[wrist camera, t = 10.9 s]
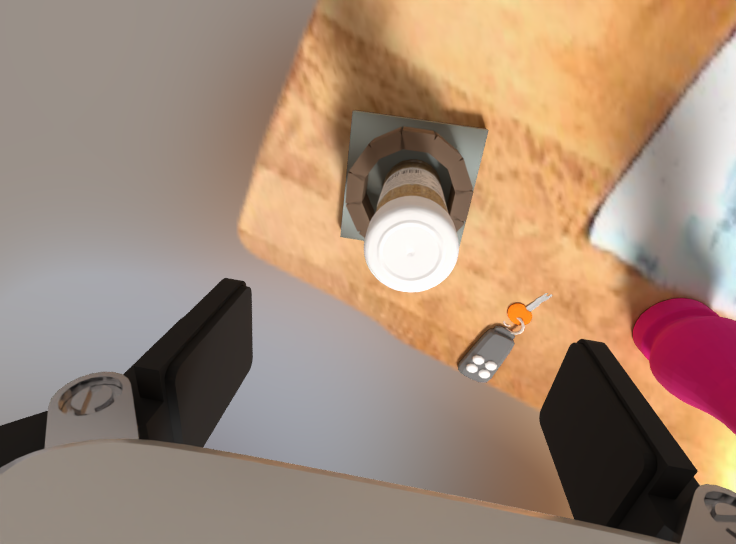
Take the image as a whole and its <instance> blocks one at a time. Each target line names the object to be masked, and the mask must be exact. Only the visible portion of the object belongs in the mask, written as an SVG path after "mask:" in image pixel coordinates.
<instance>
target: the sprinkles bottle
mask: <svg viewBox="0 0 736 544" xmlns="http://www.w3.org/2000/svg"><path fill="white" fill-rule="evenodd" d="M458 252H459V242H458V237H457V233H456V229H455V226H454V223H453V221H452V219H451V217H450V215H449V214H448V210H447V206H446V203H445V199H444V195H443V191H442V188H441V181H440V177H439V175H438V173H437V171H436V170H435V169H434V168H433V167H432V166H431V165H429V164H428V163H426V162H424V161H422V160H417V159H414V160H412V159H410V160H405V161H402V162H400V163H398V164H396V165H395V166H394V167H392V169H391V170H390V171H389V172H388V173H387V175H386V178H385V180H384V184H383V189H382V192H381V194H380V197H379V201H378V203H377V210H376V213H375V214H374V216H373V217H372V219H371V221H370V223H369V226H368V229H367V232H366V236H365V241H364V255H365V260H366V262H367V265H368V267H369V269H370V271H371V272H372V274H373V275H374V276H375V277H376V278H377V279H378V280H379V281H380V282H382V283H383V284H384V285H386V286H388V287H390V288H392V289H395V290H398V291H403V292H419V291H424V290H427V289H430V288H432V287H434V286H436V285H438V284H439V283H441V282H442V281H443V280H444V279H446V277H447V276H448V275H449V274H450V273H451V271H452V270H453V268H454V266H455V264H456V261H457V258H458Z"/></svg>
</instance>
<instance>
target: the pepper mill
mask: <svg viewBox="0 0 736 544" xmlns="http://www.w3.org/2000/svg"><path fill="white" fill-rule="evenodd" d="M633 340H634V343H635V345H636V346H637V347H638V349H639V350H640V351H641V352H642V353H643V354H644V356H645V357H646V358H647V359H648V360H649V363H650V368H651V371H652V373H653V375H654V376H655V378H656V379H657V381H658V382H659V383H660V384H661V385H662V386H663V387H664V388H665V389H666V390H667V391H669V392H670V393H671V394H672V395H674V396H675V397H677V398H679V399H680V400H682V401H683V402H685V403H687V404H689V405H691V406H693V407H696V408H698V409H700V410H702V411H704V412H706V413H708V414H710V415H712V416H713V417H715V418H716V419H718V420H719V421H721V422H722V423H724V424H725V425H726V426H727V427H728V428H729V429H730V430H731V431H732V432H733V433H735V434H736V321H734V320H732V319H728V318H723V317H720V316H719V315H718V314H716V313H715V312H714V311H712V310H711V309H710V308H708V307H707V306H706V305H704V304H703V303H701V302H699V301H696V300H693V299H687V298H675V299H669V300H666V301H662V302H659V303H657V304H655V305H654V306H652V307H650V308H649V309H647V310H646V311H645V312H644V313H643V314H641V316H640V317H639V319H638V320H637V321H636V324H635V326H634V329H633Z"/></svg>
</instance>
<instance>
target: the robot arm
mask: <svg viewBox="0 0 736 544" xmlns="http://www.w3.org/2000/svg"><path fill="white" fill-rule="evenodd" d="M251 296H252V294H251V288H250V287H247V286H246V283H245V282H244V281H240V280H234V279H228V278H224V279H223V280H221V281H220V282H219V283H218V284H217V285H216V286H215V287H214V288H213V289H212V290H211V291H210V292H209V293H208V294H207V295H206V296H205V297H204V298H203V299H202V300H201V301H200V302H199V303H198V304H197V305H196V306H195V307H194V308H193V309H192V310H191V311H190V312H189V313H188V314H187V315H186V316H184V317H183V318H182V319H180V320H179V321H178V322H177V323H176V324H175V325H174V326H173V327H172V328H171V329H170V330H169V331H168V332H167V333H166V334H165V335H164V336H163V337H162V338H160V340H158V341H157V342H156V343H155V344H154V345H153V346H152V347H151V348H150V349H149V350H148V351H147V352H146V353H145V354H144V355H143V356H142V357H141V358H140V359H139V360H138V361H137V362H136V363H135V364H134V365H133V366H132V367H131V368H129V369H128V370H127V371H126V372H125V373H124V374H119V373H116V372H98V373H92V374H89V375H86V376H82V377H79V378H77V379H75V380H73V381H71V382H70V383H67V384H66V385H65V386H64V387H62V388H61V389H59V390H58V391H57V392H56V393H55V395H54V396H53V397H52V398H51V401H50V403H49V406H48V411H45V412H42V413H39V414H36V415H33V416H30V417H26V418H23V419H20V420H17V421H14V422H11V423H8V424H5V425H2V426H0V544H736V493H735V492H733V491H731V490H729V489H726V488H723V487H720V486H717V485H709V484H705V485H701V486H700V485H699V484H698V482H697V481H696V480H695V478H694V475H695V474H696V473H697V472H698V471H697V469H696V468H695V467H694V465H693V464H692V463H691V461H690V460H689V458H688V457H687V456H686V454H685V453H684V451H683V450H682V449H681V447H680V446H679V445H678V443H677V442H676V440H675V439H674V438H673V436H672V435H671V434H670V432H669V431H668V429H667V428H666V427H665V425H664V424H663V423H662V421H661V420H660V418H659V417H658V416H657V414H656V413H655V412H654V410H653V409H652V407H651V406H650V405H649V403H648V402H647V401H646V399H645V398H644V396H643V395H642V394H641V392H640V391H639V389H638V388H637V387H636V385H635V384H634V383H633V381H632V380H631V378H630V377H629V376H628V374H627V373H626V372H625V370H624V369H623V367H622V366H621V365H620V363H619V362H618V361H617V359H616V358H615V356H614V355H613V354H612V352H611V351H610V350H609V348H608V347H607V345H606V344H605V343H602V342H597V341H591V340H585V339H580V340H579V341H578V342H577V343H572V344H571V345H570V347H569V349H568V351H567V353H566V356H565V358H564V360H563V362H562V364H561V367H560V369H559V371H558V373H557V375H556V378H555V380H554V382H553V384H552V387H551V389H550V391H549V393H548V395H547V398H546V400H545V402H544V404H543V406H542V409H541V411H540V418H539V419H540V425H541V428H542V430H543V433H544V436H545V439H546V442H547V444H548V447H549V450H550V453H551V456H552V458H553V461H554V464H555V467H556V469H557V472H558V475H559V478H560V480H561V483H562V486H563V489H564V492H565V495H566V497H567V500H568V503H569V506H570V509H571V511H572V514H573V517H574V519H569V518H563V517H559V516H554V515H549V514H544V513H539V512H534V511H529V510H525V509H520V508H515V507H510V506H505V505H500V504H495V503H490V502H485V501H480V500H475V499H470V498H465V497H460V496H455V495H450V494H445V493H440V492H434V491H430V490H425V489H419V488H415V487H410V486H404V485H399V484H394V483H389V482H384V481H378V480H374V479H369V478H363V477H358V476H353V475H348V474H343V473H338V472H333V471H327V470H322V469H317V468H311V467H306V466H301V465H295V464H290V463H285V462H280V461H275V460H269V459H264V458H259V457H254V456H248V455H243V454H237V453H231V452H225V451H220V450H214V449H208V448H203V447H204V445H205V443H206V441H207V440H208V438H209V436H210V435H211V433H212V432H213V430H214V428H215V427H216V425H217V423H218V422H219V420H220V418H221V417H222V415H223V413H224V412H225V410H226V408H227V407H228V405H229V403H230V402H231V400H232V398H233V397H234V395H235V393H236V392H237V390H238V389H239V387H240V385H241V384H242V382H243V380H244V378H245V377H246V375H247V373H248V372H249V370H250V368H251V364H252V358H253V355H252V354H253V352H252V298H251Z"/></svg>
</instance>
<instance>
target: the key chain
mask: <svg viewBox="0 0 736 544" xmlns="http://www.w3.org/2000/svg"><path fill="white" fill-rule="evenodd" d="M547 294H548V293H546V294H544V295H543V296H541V297H539V298H537V299H536V300H535V301H534V302H532V303H531V304H529V305H528V306H526V307H525V306H524V305H523V304H520V303H515V304H513V305H511V306H510V307H509V308H508V312H507V313H508V317H509V318H510V320H511V321H512V322H513V323H515V324H517V325H521V326H522V327H521V329H520V330H519V331H517V332H513V331H511V330H509V329H508V328H507V327H505V328H504V327H502V326H495V327H494V329H489V330H488V331H487V332H486V333H484V334H483V336H482V337H481V338H480V339H479V340H478V341H477V342H476V344H475V345H474V346H473V347H472V348H471V349H470V351H469V352H468V353H467V354H466V355H465V356H464V358H463V359H462V360H461V361H460V363H459V365H458V370H459V371H460V373H462V374H463V375H464V376H466V377H468V378H470V379H472V380H475V381H477V382H484V383H486V382H487V381H489V380H490V379H491V378H492V376H493V375H494V374H495V372H496V371H497V370H498V368H499V367H500V365H501V364H502V363H503V361H504V360H505V358H506V357H507V356H508V354H509V353H510V351H511V350H512V348H513V346H514V341H513V339H514V338H515V336H514V334H515V335H517V334H521V333H522V332H523V331H524V328H525V325H526V324H528V323H529V322H530V321H531V319H532V314H531V312H530V311H532V310H533V309H535V308H536V307H537V306H539V305H540V304H541V303H542V302H543V301H546V300H547V299H549V298H550V297H551V296H553V295H550V296H545V295H547ZM503 323H504V325H505V326H511V325H507V324H506V323H505V321H503Z"/></svg>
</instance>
